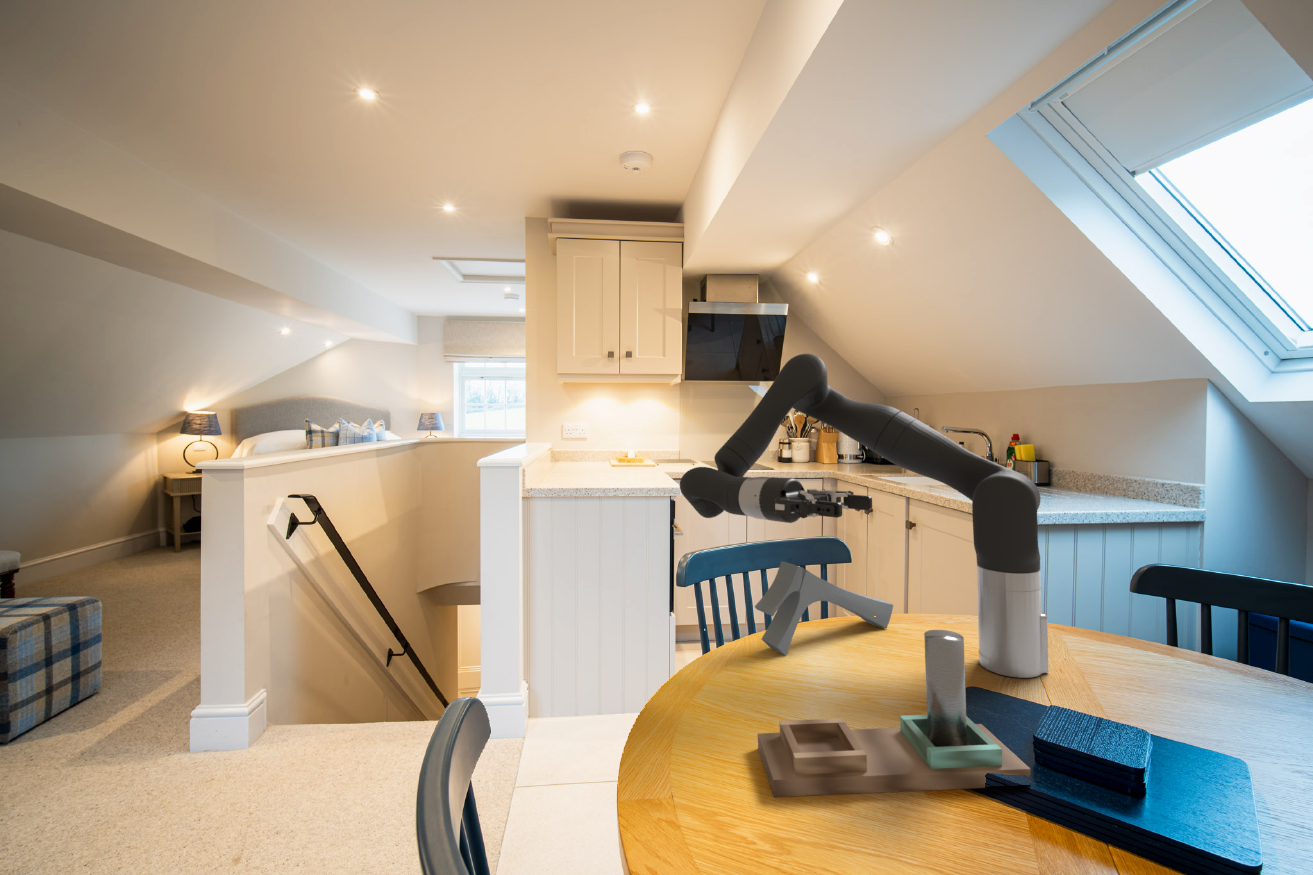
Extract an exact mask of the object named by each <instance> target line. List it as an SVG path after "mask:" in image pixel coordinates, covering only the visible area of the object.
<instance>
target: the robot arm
mask: <svg viewBox="0 0 1313 875" xmlns="http://www.w3.org/2000/svg"><path fill="white" fill-rule="evenodd" d="M792 409H794V410H796V411H798V412H799V413H802V414H803V415H806V416H808V417H810V418H812V419H815V420H817V421H820V422H822V423H824V424H826V425H828V426H830V427H832V428H834V429H835V430H837V431H839V432H840V433H842V434H844V435H845V436H847V437H849V438H850V439H851V440H853V441H855V442H857V443H859V444H861V445H863V446H864V447H865V448H867V449H869V450H871V451H872V452H874V453H875V454H877V455H878V456H880V457H882V458H883V459H885V460H886V461H889V462H890V463H892V464H894V465H896V466H898V467H900V468H902V469H905V470H907V471H910V472H913V473H915V474H917V475H920V476H923V477H926V478H929V479H931V480H935V481H938V482H939V483H942V484H944V485H946V486H948V487H950V488H951V489H953V490H955V491H957V492H959V493H960V494H961V495H964V497H966V498H968V499H969V500H970V501H971V506H972V508H971V513H972V532H973V533H972V534H973V535H972V536H973V547H974V551H975V554H976V581H977V582H976V585H977V587H976V588H977V589H976V590H977V621H978V623H977V624H978V626H977V627H978V654H979V656H978V657H979V658H978V659H979V660H978V663H979V665H981V667H983V668H984V669H985V670H987V671H990V672H993V673H996V674H998V675H1002V676H1006V677H1010V678H1020V679H1022V678H1025V679H1026V678H1027V679H1030V678H1035V677H1036V678H1037V677H1039V676H1041V675H1042V674H1045V673H1046V674H1048V673H1049V672H1050V670H1049V666H1050V665H1049V634H1048V633H1049V630H1048V629H1049V628H1048V626H1049V624H1048V623H1049V622H1048V621H1049V620H1048V616H1047V615H1046V614H1045V613H1042V590H1041V588H1042V587H1041V555H1040V548H1039V535H1038V534H1039V533H1038V532H1039V531H1038V510H1039V508H1040V504H1041V494H1040V491H1039V488H1038V486H1037V485H1036V483H1035V482H1034V481H1033V480H1031V478H1029V477H1028V476H1026V475H1025V474H1023V473H1020V472H1018V471H1016V470H1013V469H1011V468H1008V467H1006V466H1003V465H1001V464H999V463H996V462H994V461H991V460H989V459H987V458H985V457H982V456H980V455H977V453H976V454H975V453H973V452H971V450H970V451H969V450H968V449H966V448H964V447H962V446H961V445H960V444H958V443H956V442H955V441H954V440H952V439H950V438H949V437H947V436H945V435H944V434H942V433H941V432H939V431H938V430H936V429H934V428H932V427H931V426H929V425H927V424H926V423H924V422H922V421H921V420H919V419H917V418H915V417H913V416H911V415H910V414H907V413H905V412H904V411H902V410H900V409H898V408H896V407H893V406H890V405H885V404H879V403H871V402H869V403H868V402H861V401H857V400H854V399H851V398H850V397H847V396H845V395H844V394H842V393H840V392H839V391H838V390H835V389H834V388H833V387H831V386H830V385H829V384H828V371H827V367H826V364H825V362H824V360H822V359H821V358H820V357H819V356H817V355H815V354H813V353H812V354H811V353H802V354H801V353H800V354H797V355H794V356H793V357H792V358H790V359H789V360H788V361H787V362H785V364H784V365H783V367H781V369H780V371H779V373H778V375H777V376H776V377H775V379H774V380H773V381H772V384H771V385H770V386H769V388H768V389H767V391H766V392H765V394H764V395H763V397H761V400H760V401H759V402H758V404H756V406H755V407H754V409H753V410H752V412H751V413H750V414H749V416H748V417H747V418H746V419H745V421H743V422H742V424H741V425H740V426H739V428H738V429H737V430H735V432H733V434H731V436H730V437H729V439H727V440H726V441H725V443H724V444H723V445H722V446H721V447H720V448H719V449H718V451H716V453H715V454H714V462H715V465H716V467H717V469H716V468H713V467H709V466H708V467H707V466H697V467H693V468H691V469H688V470H687V471H686V472H685V473H684V474H683V475H682V477H681V478H680V480H679V489H680V493H681V494H682V496H683V497H684V498H685V500H686V501H687V502H688V503H689V504H690V505H691V506H692V507H693V509H694V510H695V511H696V512H697V513H698V514H699V515H700V516H701V517H703V518H706V519H712V518H716V517H717V516H719V515H722V513H723V512H726V513H728V514H732V515H735V516H736V515H737V516H738V515H739V516H747V517H752V518H753V519H759V520H765V521H773V522H779V523H789V524H792V523H796V522H797V521H798V520H800V518H801V519H806V518H810V517H811V518H816V517H818V516H820V517H828V518H829V517H830V518H837V519H838V518H841V517H842V516H843V509H844V510H849V509H850V510H861V511H870V510H872V509H873V498H872V496H870V495H862V494H860V495H859V494H854V491H851V490H847V491H845V490H833V489H832V490H831V489H830V490H829V489H824V488H823V489H822V490H821V489H820V490H819V489H817V488H807V490H805V488H804V486H803V484H802V483H801V482H800V480H798V479H796V478H791V477H775V476H773V477H771V476H756V477H752V476H750V477H749V476H745V475H746V474H747V472H749V470H750V469H751V468H752V467H753V466H754V465H755V463H756V462H757V461H758V460H759V459H761V456H763V454H764V453H765V452H766V449H768V447H769V446H770V444H771V442H772V440H773V438H774V436H776V433H777V431H778V430H779V428H780V426H781V424H782V422H783V421H784V419H785V418H786V417H787V415H788V414H789V412H790V411H791V410H792ZM842 498H843V502H842Z"/></svg>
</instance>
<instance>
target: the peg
mask: <svg viewBox="0 0 1313 875" xmlns="http://www.w3.org/2000/svg"><path fill="white" fill-rule="evenodd" d="M923 634H924V635H923V636H924V638H923V639H924V640H923V641H924V659H925V661H924V664H925V666H924V667H925V693H926V695H925V696H926V715H927V728H928V739H929V740H930V742H931V743H932V744H933V745H934V746H935V747H947V746H967V723H966V716H967V703H966V702H967V698H966V696H967V695H966V669H965V668H966V667H965V664H966V663H965V642H964V641H965V640H964V639H965V638H964V635H962V634H960V633H958V632H955V631H951V630H946V629H931V630H930V629H929V630H927V631H925V632H924V633H923Z"/></svg>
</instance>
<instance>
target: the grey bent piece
mask: <svg viewBox="0 0 1313 875" xmlns="http://www.w3.org/2000/svg"><path fill="white" fill-rule="evenodd" d="M817 602H829V603H830V604H833V605H836V606H837V607H841V608H843V609H845V610H847V611H848V612H850V613H852V614H854V615H856V616H857V617H859V618H860V617H861V619H862V620H863V621H864V622H866V623H868V624H870V625H873V626H876V627H878V628H882V629H887V628H888V626H889V623H890V620H891V617H892V613H893V609H894V604H893V603H891V602H889V601H887V600H885V599H881V598H876V597H870V596H866V595H863V594H859V593H856V592H855V591H854V592H853V591H850V590H848V589H845V588H842V587H839V586H838V585H835V584H833V583H831V582H829V581H827V580H825V579H823V578H821V577H819V576H817V575H815V574H814V573H812V572H811V571H809V570H808V569H805V568H803V567H801V566H799V565H796V564H792V563H789V562H786V561H780V564H779V567H778V569H777V572H776V575H775V577H774V579H773V581H772V583H771V586H770V587H769V588H768V590H767V591H766V592H765V594H764V595H763V596H762V598H760V600H759V601H758V602H757V603H756V604H755V605H754V608H755V609H756V610H757V611H760V612H762V613H764V614H766V615H768V616H771V617H772V620H771V622H770V624H769V625H768V627H767V629H766V631H765V632H764V633H763V635H762V637H761V639H760V640H761V641H762V642H764V643H765V644H766V645H767V646H768V647H769V648H770V649H771V648H772V650H773V649H774V651H775V650H776V652H777V651H778V652H777V653H779V652H780V653H779V654H781V653H782V654H781V655H783V654H784V655H783V656H785V655H788V652H789V649H790V646H791V643H792V640H793V637H794V635H795V632H796V629H797V627H798V624H799V622H800V620H801V618H802V615H803V614H804V613H805V611H806V609H807V608H808V607H810V605H812V604H814V603H817ZM874 616H876V617H874Z"/></svg>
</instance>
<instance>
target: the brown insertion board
mask: <svg viewBox="0 0 1313 875" xmlns="http://www.w3.org/2000/svg"><path fill="white" fill-rule="evenodd" d="M899 720H900V724H899V725H900V726H899V727H881V728H858V729H850V727H849V725H848V723H846V721H845V719H844V718H842V717H841V718H840V717H839V718H820V719H819V718H818V719H796V720H795V719H794V720H792V719H791V720H779V732H767V733H765V732H764V733H763V732H761V733H760V732H759V733H757V749H758V753H759V755H760V758H761V762H762V765H763V768H764V771H765V773H766V777H767V779H768V782H769V786H770V788H771V792H772V796H773V798H781V797H782V798H783V797H802V796H804V797H805V796H807V797H808V796H825V795H827V796H828V795H829V796H830V795H847V794H848V795H849V794H851V795H853V794H871V793H872V794H873V793H895V792H898V793H899V792H920V791H921V792H922V791H941V790H943V791H944V790H963V789H964V790H965V789H986V788H985V783H986V777H985V775H986V774H987V773H995V774H996V773H997V774H1004V775H1022V776H1023V775H1029V776H1030V775H1031V771H1032V770H1031V768H1030V766H1028V765H1027V764H1026V763H1025V762H1023V760H1021V759H1020V758H1019V757H1018V756H1017V755H1016V754H1015V753H1014V752H1013V751H1011V750H1010V749H1009V747H1007V746H1006V745H1005V744H1004V743H1003V742H1002V741H1001V740H999V739H998V738H997V737H996V736H995V735H994V734H993V733H992V732H991V731H990V730H988V728H987V727H985V726H984V725H983V724H982V723H975V722H973V720H971V718H969V717H968V716H967V715H966V723H967V746H947V747H935V746H934V745H933V744H932V743H931V742H930V740H929V739H928V728H927V714H915V715H913V714H911V715H910V714H909V715H908V714H907V715H900V716H899ZM1031 776H1032V775H1031Z"/></svg>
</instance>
